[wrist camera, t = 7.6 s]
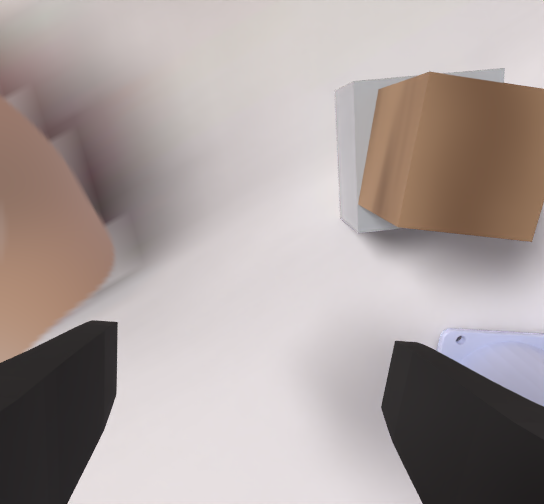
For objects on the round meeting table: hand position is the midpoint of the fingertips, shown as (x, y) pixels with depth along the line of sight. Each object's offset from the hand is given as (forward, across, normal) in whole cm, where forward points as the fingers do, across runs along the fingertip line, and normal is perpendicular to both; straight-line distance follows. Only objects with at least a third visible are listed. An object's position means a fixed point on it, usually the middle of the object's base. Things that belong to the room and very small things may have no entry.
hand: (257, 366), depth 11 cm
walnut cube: (+7, -6, -6) cm, 11 cm away
